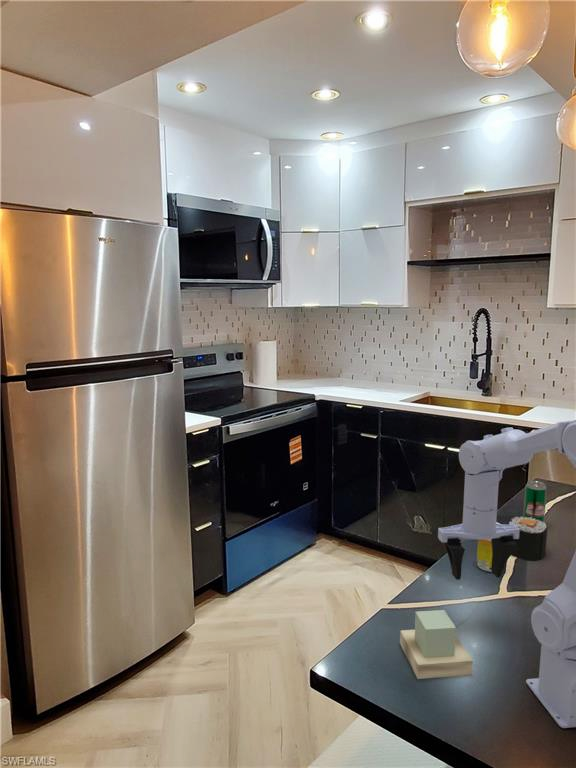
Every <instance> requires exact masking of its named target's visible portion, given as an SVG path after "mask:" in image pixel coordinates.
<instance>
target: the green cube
mask: <svg viewBox="0 0 576 768" xmlns="http://www.w3.org/2000/svg"><path fill="white" fill-rule="evenodd" d="M414 614H415V618H414V630H415V637H414V639H415V641H416V643H417V644H418V646H419V648H420V650H421V652H422V654H423V656H424V658H431V657H447V656H455V637H457V628H456V625H455V624H454V622H453V621H452V620H451V618H450V617H449V615H448V613H447V612H446V610H445V609H440V610H439V609H438V610H424V611H423V610H420V611H415V613H414Z"/></svg>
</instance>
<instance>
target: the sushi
mask: <svg viewBox="0 0 576 768" xmlns="http://www.w3.org/2000/svg"><path fill="white" fill-rule="evenodd" d="M508 525H515V526H516V527H518V528H519V529H520V531H519V539H513V541H515V542H516V549H515V550H514V551H513V552H512V554H511V555H510V556H512V557H514V558H517V559H520V560H523V561H524V560H525V561H529V562H530V561H531V562H538V561H541V560H542V559H544V558H545V556H546V551H547V550H546V549H547V540H548V527H547V524H546V523H545V521H544V522H543V523H542V521H538V520H535V518H533V519H532V517H530V518H528V517H527V518H526V517H525V518H523V516H519V517H518V516H516V517H515V516H514V517H513V518H511V521H509V523H508Z"/></svg>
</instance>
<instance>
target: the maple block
mask: <svg viewBox="0 0 576 768" xmlns="http://www.w3.org/2000/svg"><path fill="white" fill-rule="evenodd" d="M414 637H415V629H402V630H400V632H399V645H400V646H401V648H402V650H403V652H404V654H405V657H406V659H407V661H408V663H409V664H410V667H411V669H412V670H413V673H414V675H415V677H416V678H417V680H424V679H435V678H437V679H438V678H448V677H461V676H464V675H465V676H472V675H473V662H474V660H473V659H472V658H471V656H470V655H469V653H468V652H467V650H466V648H465V647H464V646H463V643H461V641H460V640H459V638H458V637H457V636H456V637H455V656H447V657H431V658H424V656H423V654H422V652H421V650H420V648H419V646H418V644H417V643H416V641H415V639H414Z"/></svg>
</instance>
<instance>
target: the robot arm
mask: <svg viewBox="0 0 576 768" xmlns="http://www.w3.org/2000/svg"><path fill="white" fill-rule="evenodd" d="M500 431H501V433H499V434H495V435H493V434H486V435H484V436H483V439H481V440H466V441H465V442H464V443H462V444H461V445H460V447H459V451H458V460H459V464H460V466H461V468H462V469H463V471H464V487H463V488H464V490H463V508H462V509H463V510H462V511H463V512H462V523H459V524H455V525H450V526H445V527H438V529H437V538H438V540H439V541H440V542H441V543H442V544H443V545H444V547H445V550H446V553H447V556H448V559H449V563H450V567H451V575H452V577H454V578H455V580H456V581H457V580H458V581H459V580H460V581H461V578H462V563H463V557H464V554H465V551H466V550H465V548H464V547H463V546H462V542H461V541H466V540H467V541H468V540H478V539H480V540H489V539H491V542H492V566H491V567H492V572H491V573H492V574H493V575H494V576H495V577H496V578H501V576H502V574H503V570H504V569H505V568H504V567H505V565H506V563H507V562H508V559H509V557H510V556H512V555H511V554H512V552H513V551H514V550H515V549H516V542H515V541H513V539H519V531H520V529H519V528H518V527H516V526H515V525H509V524H506V523H505V524H501V523H500V524H496V522H497V519H498V518H497V514H498V502H499V501H498V497H499V484H500V481H501V479H503V471H505V470H506V469H509V468H513V467H516V466H523V465H526V464H528V463H529V462H531V460H533V457H534V455H535V454H537V453H541V452H546V451H551V450H552V451H553V450H558V453H559V454H561V455H564V454H565V455H566V457H567V459H568V460H569V462H570V463H571V464H572V465H573V467H574V468H575V469H576V419H574V420H564V421H558V422H556V423H552V424H549V425H547V426H545V427H541V428H538V429H536V430H533V431H530V432H528V433H526V432H525V431H524V430H521V429H514V428H513V427H505V428H501V429H500ZM530 616H531V617H530V620H531V621H530V622H531V627H532V632H533V633H534V636H535V637H536V639H537V641H538V642H539V643H540V645H541V648H540V660H539V669H538V670H539V672H538V673H539V674H538V677H537V678H527V679H526V681H525V683H526V684H527V686H528V688H530V690H531V691H532V692H533V694H534V695H535V696H536V698H537V699H538V700H539V701H540V702H541V704H542V705H543V707H544V708H545V709H546V710H547V711H548V713H549V714H550V716H551V717H552V718H553V720H554V721H555V722H556V724H557V725H558V726H559V727H560V728H562V729H567V728H576V550H575V552H574V554H573V556H572V559H571V561H570V564H569V565H568V569H567V570H566V573H565V575H564V578H563V580H562V582H561V583H560V584H559V585H557V586H556V587H555V588H554V589H553V590H551V591H550V592H549V593H547V594H546V595H545V596H544V598H543V601H542V603H541V604H539V605H537V606H535V607H534V608H533V609H532V612H531V615H530Z"/></svg>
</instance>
